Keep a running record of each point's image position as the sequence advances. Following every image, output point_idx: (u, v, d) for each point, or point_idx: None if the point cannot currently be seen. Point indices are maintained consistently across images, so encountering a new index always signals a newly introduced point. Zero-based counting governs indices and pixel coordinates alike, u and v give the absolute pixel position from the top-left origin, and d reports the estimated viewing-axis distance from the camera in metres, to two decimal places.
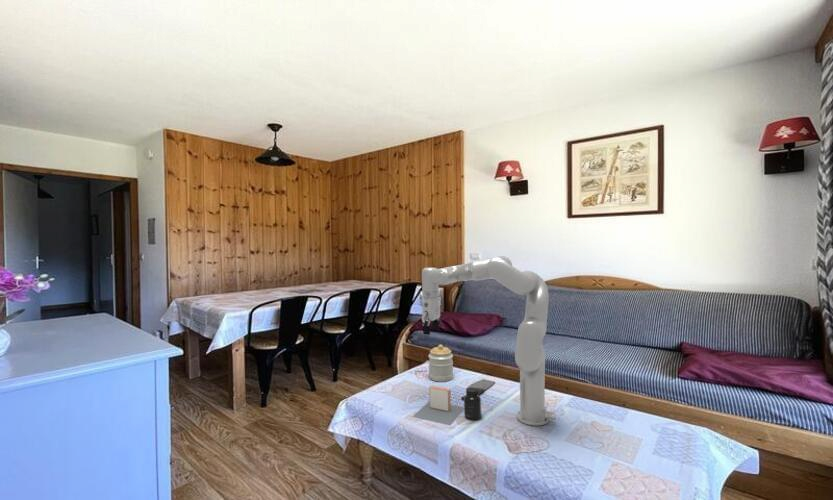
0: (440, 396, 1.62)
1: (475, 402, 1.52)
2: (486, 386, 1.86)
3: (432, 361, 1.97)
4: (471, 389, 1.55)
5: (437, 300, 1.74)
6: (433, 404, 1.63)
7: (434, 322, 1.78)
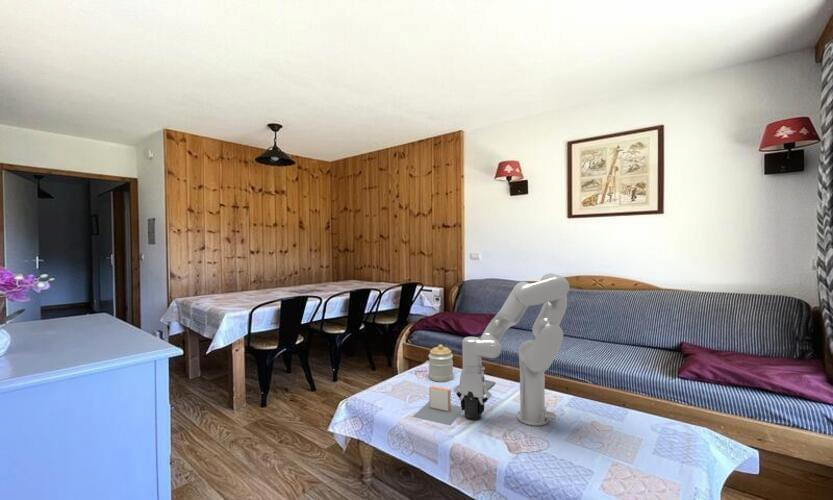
0: (440, 396, 1.62)
1: (475, 402, 1.52)
2: (487, 386, 1.86)
3: (432, 361, 1.97)
4: None
5: None
6: (433, 404, 1.63)
7: None
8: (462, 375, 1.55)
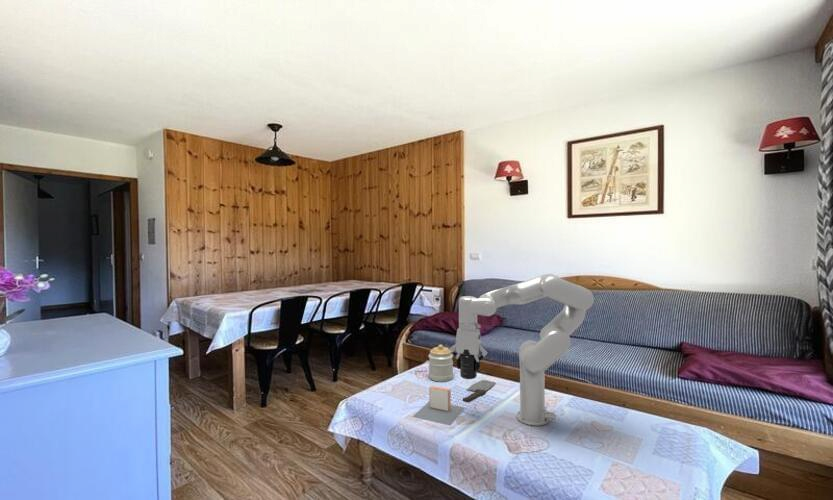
0: (440, 396, 1.62)
1: (471, 359, 1.53)
2: (487, 387, 1.85)
3: (432, 361, 1.97)
4: None
5: None
6: (433, 404, 1.63)
7: None
8: (458, 333, 1.56)
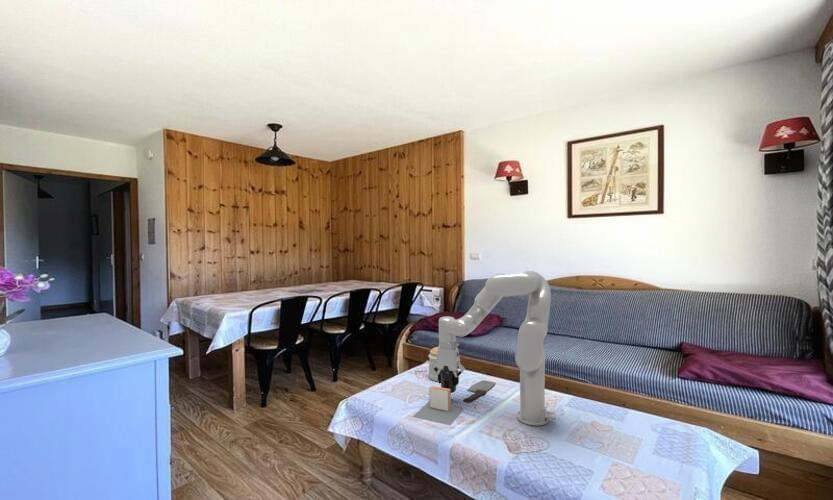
0: (440, 396, 1.62)
1: (449, 375, 1.67)
2: (487, 387, 1.85)
3: (432, 361, 1.97)
4: None
5: None
6: (433, 404, 1.63)
7: None
8: (438, 351, 1.70)
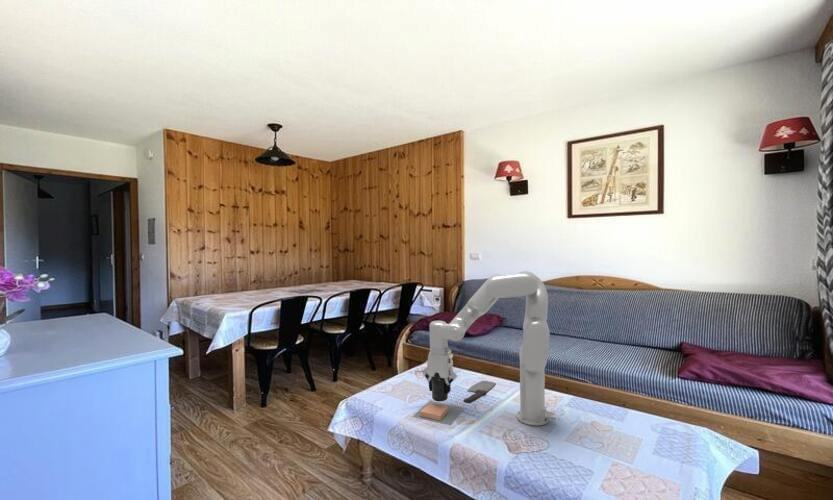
0: None
1: (441, 382, 1.59)
2: (487, 388, 1.84)
3: None
4: None
5: None
6: None
7: None
8: (429, 357, 1.62)
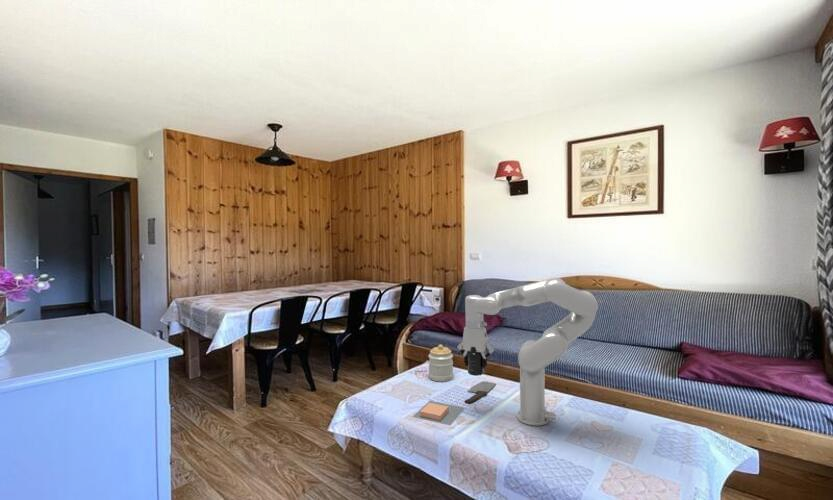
0: None
1: (477, 356, 1.58)
2: (488, 388, 1.84)
3: (432, 361, 1.97)
4: None
5: None
6: None
7: None
8: (465, 331, 1.61)
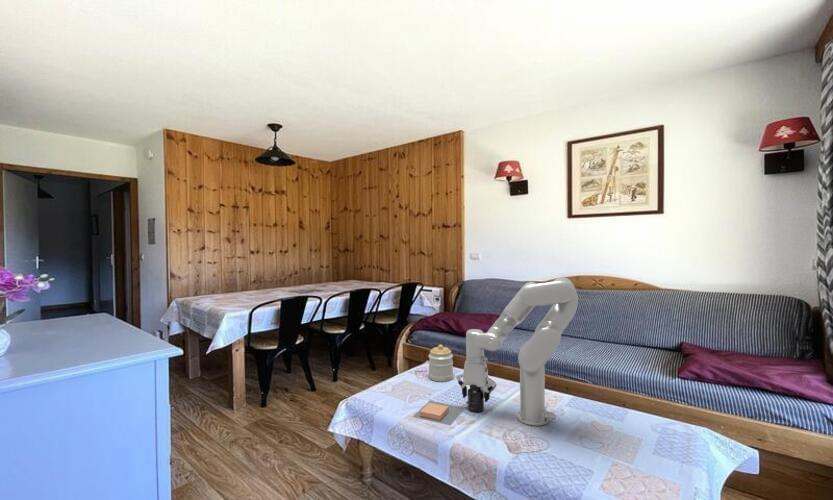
0: None
1: (478, 395, 1.59)
2: None
3: (432, 361, 1.97)
4: None
5: None
6: None
7: (465, 389, 1.64)
8: (466, 366, 1.61)
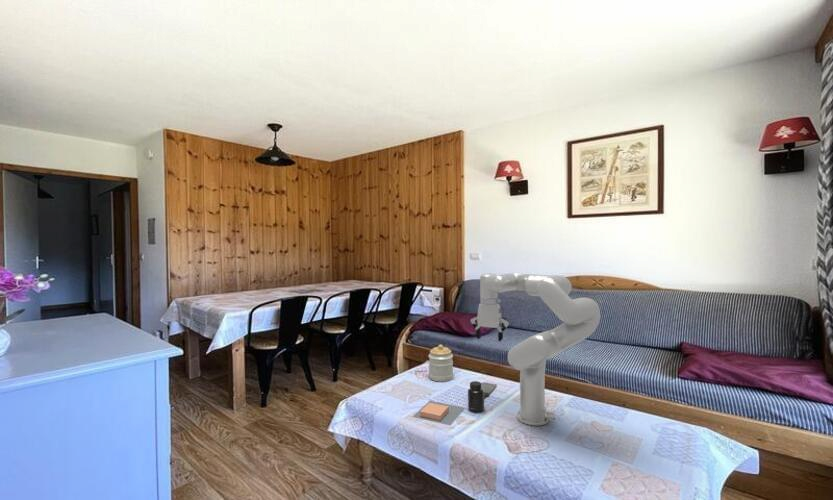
0: None
1: (478, 395, 1.58)
2: (489, 389, 1.82)
3: (432, 361, 1.97)
4: (474, 383, 1.62)
5: None
6: None
7: (479, 331, 1.71)
8: (480, 308, 1.69)
